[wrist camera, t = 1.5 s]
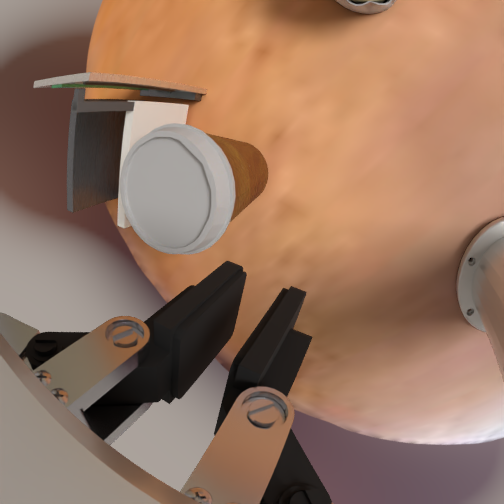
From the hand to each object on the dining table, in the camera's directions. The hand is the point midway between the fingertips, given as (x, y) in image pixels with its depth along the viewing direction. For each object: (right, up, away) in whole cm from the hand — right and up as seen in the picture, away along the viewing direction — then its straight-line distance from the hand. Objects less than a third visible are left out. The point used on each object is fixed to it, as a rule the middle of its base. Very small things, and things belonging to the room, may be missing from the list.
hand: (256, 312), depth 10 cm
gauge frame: (-10, +14, +22) cm, 28 cm away
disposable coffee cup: (-1, +10, +19) cm, 22 cm away
